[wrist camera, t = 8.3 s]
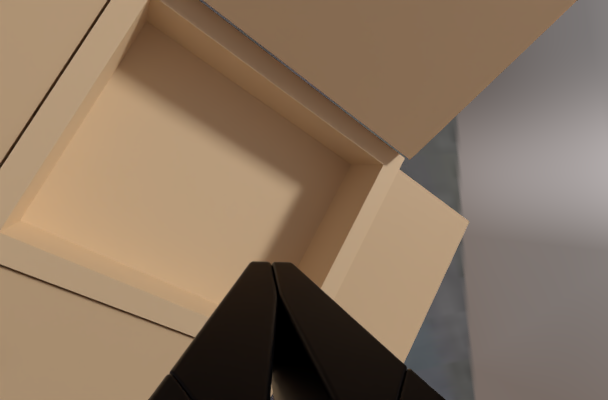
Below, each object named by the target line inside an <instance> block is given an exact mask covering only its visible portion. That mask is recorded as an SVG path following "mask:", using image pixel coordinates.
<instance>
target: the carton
mask: <svg viewBox="0 0 608 400" xmlns="http://www.w3.org/2000/svg"><path fill="white" fill-rule="evenodd" d="M404 159H405V158H404V157H402V156H401V155H400V154H399V153H397V152H396V151H395V150H393V149H392V148H391V147H389V146H388V145H387V144H386V143H384V142H383V141H382V140H380V139H379V138H378V137H376V136H375V135H374V134H373V133H371V132H370V131H369V130H367V129H366V128H365V127H363V126H362V125H361V124H359V123H358V122H357V121H356V120H354V119H353V118H352V117H350V116H349V115H348V114H346V113H345V112H344V111H343V110H341V109H340V108H339V107H337V106H336V105H335V104H333V103H332V102H331V101H329V100H328V99H327V98H326V97H324V96H323V95H322V94H320V93H319V92H318V91H316V90H315V89H314V88H313V87H311V86H310V85H309V84H307V83H306V82H305V81H303V80H302V79H301V78H299V77H298V76H297V75H296V74H294V73H293V72H292V71H290V70H289V69H288V68H286V67H285V66H284V65H283V64H281V63H280V62H279V61H277V60H276V59H275V58H273V57H272V56H271V55H269V54H268V53H267V52H266V51H264V50H263V49H262V48H260V47H259V46H258V45H256V44H255V43H254V42H253V41H251V40H250V39H249V38H247V37H246V36H245V35H243V34H242V33H241V32H239V31H238V30H237V29H236V28H234V27H233V26H232V25H230V24H229V23H228V22H226V21H225V20H224V19H223V18H221V17H220V16H219V15H217V14H216V13H215V12H213V11H212V10H211V9H210V8H208V7H207V6H206V5H204V4H203V3H202V2H200V1H199V0H0V400H148V399H149V398H150V396H151V395H152V394H153V393H154V391H155V390H156V388H157V387H158V386H159V384H160V383H161V382H162V380H163V379H164V378H165V376H166V375H167V374H169V373H170V370H171V369H172V368H173V366H174V365H175V364H176V362H177V361H178V360H179V358H180V357H181V356H182V354H183V353H184V351H185V350H186V349H187V347H188V346H189V345H190V343H191V342H192V341H193V339H194V338H195V336H196V335H197V334H198V332H199V331H200V330H201V328H202V327H203V326H204V324H205V323H206V322H207V320H208V319H209V317H210V316H211V315H212V313H213V312H214V311H215V309H216V308H217V307H218V305H219V304H220V302H221V301H222V300H223V298H224V297H225V296H226V294H227V293H228V292H229V290H230V289H231V288H232V286H233V285H234V283H235V282H236V281H237V279H238V278H239V277H240V275H241V274H242V273H243V271H244V270H245V268H246V267H247V266H248V264H249V263H250V262H252V261H264V262H270V263H271V265H272V263H273V262H291V263H293V264H294V265H295V266H296V267H297V268H298V269H300V270H301V271H302V272H303V273H304V274H305V275H306V276H307V277H308V278H309V279H311V280H312V281H313V282H314V283H315V284H316V285H317V286H318V287H319V288H321V289H322V290H323V291H324V292H325V293H326V294H327V295H328V296H329V297H331V298H332V299H333V300H334V301H335V302H336V303H337V304H338V305H339V306H340V307H342V308H343V309H344V310H345V311H346V312H347V313H348V314H349V315H350V316H352V317H353V318H354V319H355V320H356V321H357V322H358V323H359V324H360V325H362V326H363V327H364V328H365V329H366V330H367V331H368V332H369V333H370V334H371V335H373V336H374V337H375V338H376V339H377V340H378V341H379V342H380V343H381V344H383V345H384V346H385V347H386V348H387V349H388V350H389V351H390V352H391V353H393V354H394V355H395V356H396V357H397V358H398V359H399V360H400V361H401V362H402V363H404V362H405V359H406V357H407V355H408V353H409V351H410V349H411V346H412V344H413V342H414V340H415V338H416V336H417V334H418V331H419V329H420V327H421V325H422V323H423V321H424V318H425V316H426V314H427V312H428V310H429V308H430V306H431V303H432V301H433V299H434V297H435V295H436V293H437V290H438V288H439V286H440V284H441V282H442V280H443V277H444V275H445V273H446V271H447V269H448V267H449V265H450V262H451V260H452V258H453V256H454V254H455V252H456V249H457V247H458V245H459V243H460V241H461V239H462V237H463V234H464V232H465V230H466V227H467V225H468V224H469V221H468V220H466V219H465V218H464V217H462V216H461V215H460V214H458V213H457V212H456V211H454V210H453V209H452V208H450V207H449V206H448V205H446V204H445V203H444V202H442V201H441V200H440V199H438V198H437V197H436V196H434V195H433V194H432V193H430V192H429V191H427V190H426V189H425V188H423V187H422V186H421V185H419V184H418V183H417V182H415V181H414V180H413V179H411V178H410V177H409V176H407V175H406V174H405V173H403V172H402V171H401V170H399V169H400V167H401V165H402V163H403V161H404ZM272 393H273V390H272V384H271V395H272Z"/></svg>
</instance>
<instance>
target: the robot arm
mask: <svg viewBox="0 0 608 400" xmlns="http://www.w3.org/2000/svg"><path fill="white" fill-rule="evenodd" d="M406 370H407V367H406V365H405V364H404V363H402V362H401V361H400V360H399V359H398V358H397V357H396V356H395V355H394V354H393V353H391V352H390V351H389V350H388V349H387V348H386V347H385V346H384V345H383V344H381V343H380V342H379V341H378V340H377V339H376V338H375V337H374V336H373V335H371V334H370V333H369V332H368V331H367V330H366V329H365V328H364V327H363V326H362V325H360V324H359V323H358V322H357V321H356V320H355V319H354V318H353V317H352V316H350V315H349V314H348V313H347V312H346V311H345V310H344V309H343V308H342V307H340V306H339V305H338V304H337V303H336V302H335V301H334V300H333V299H332V298H331V297H329V296H328V295H327V294H326V293H325V292H324V291H323V290H322V289H321V288H319V287H318V286H317V285H316V284H315V283H314V282H313V281H312V280H311V279H309V278H308V277H307V276H306V275H305V274H304V273H303V272H302V271H301V270H300V269H298V268H297V267H296V266H295V265H294V264H293V263H291V262H273V263H272V265H271V263H270V262H264V261H252V262H250V263H249V264H248V266H247V267H246V268H245V270H244V271H243V273H242V274H241V275H240V277H239V278H238V279H237V281H236V282H235V283H234V285H233V286H232V288H231V289H230V290H229V292H228V293H227V294H226V296H225V297H224V298H223V300H222V301H221V302H220V304H219V305H218V307H217V308H216V309H215V311H214V312H213V313H212V315H211V316H210V317H209V319H208V320H207V322H206V323H205V324H204V326H203V327H202V328H201V330H200V331H199V332H198V334H197V335H196V336H195V338H194V339H193V341H192V342H191V343H190V345H189V346H188V347H187V349H186V350H185V351H184V353H183V354H182V356H181V357H180V358H179V360H178V361H177V362H176V364H175V365H174V366H173V368H172V369H171V370H170V373H169V374H167V375H166V376H165V378H164V379H163V380H162V382H161V383H160V384H159V386H158V387H157V388H156V390H155V391H154V393H153V394H152V395H151V396H150V398H149V399H148V400H270V397H271V384H272V390H273V396H274V400H445V399H444V398H443V397H442V396H441V395H440V394H438V393H437V392H436V391H435V390H434V389H433V388H432V387H430V386H429V385H428V384H427V383H426V382H425V381H424V380H422V379H421V378H420V377H419V376H418V375H417V374H416V373H415V372H414V371H412V370H411V369H408V370H407V371H406Z"/></svg>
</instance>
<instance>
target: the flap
mask: <svg viewBox="0 0 608 400" xmlns="http://www.w3.org/2000/svg"><path fill="white" fill-rule="evenodd" d="M203 1H205V2H206V3H207V4H209V5H210V6H211V7H212V8H214V9H215V10H216V11H218V12H219V13H220V14H222V15H223V16H224V17H225V18H227V19H228V20H229V21H231V22H232V23H233V24H235V25H236V26H237V27H238V28H240V29H241V30H242V31H244V32H245V33H246V34H248V35H249V36H250V37H251V38H253V39H254V40H255V41H257V42H258V43H259V44H260V45H262V46H263V47H264V48H266V49H267V50H268V51H270V52H271V53H272V54H273V55H275V56H276V57H277V58H279V59H280V60H281V61H283V62H284V63H285V64H286V65H288V66H289V67H290V68H292V69H293V70H294V71H296V72H297V73H298V74H299V75H301V76H302V77H303V78H305V79H306V80H307V81H308V82H310V83H311V84H312V85H314V86H315V87H316V88H318V89H319V90H320V91H321V92H323V93H324V94H325V95H327V96H328V97H329V98H331V99H332V100H333V101H334V102H336V103H337V104H338V105H340V106H341V107H342V108H344V109H345V110H346V111H347V112H349V113H350V114H351V115H353V116H354V117H355V118H356V119H358V120H359V121H360V122H362V123H363V124H364V125H366V126H367V127H368V128H369V129H371V130H372V131H373V132H375V133H376V134H377V135H379V136H380V137H381V138H382V139H384V140H385V141H386V142H388V143H389V144H390V145H392V146H393V147H394V148H395V149H397V150H398V151H399V152H401V153H402V154H403V155H405V156H406V157H407V158H408V159H411V158H412V157H413V156H414V155H415V154H417V153H418V152H419V151H420V150H421V149H422V148H423V147H424V146H425V145H426V144H427V143H428V142H429V141H430V140H431V139H432V138H433V137H434V136H435V135H436V134H437V133H439V132H440V131H441V130H442V129H443V128H444V127H445V126H446V125H447V124H448V123H449V122H450V121H451V120H452V119H453V118H454V117H455V116H456V115H457V114H458V113H460V112H461V110H463V109H464V108H465V107H466V106H467V105H468V104H469V103H470V102H471V101H472V100H473V99H474V98H475V97H476V96H477V95H478V94H479V93H481V92H482V91H483V90H484V89H485V88H486V87H487V86H488V85H489V84H490V83H491V82H492V81H493V80H494V79H495V78H496V77H497V76H498V75H499V74H500V73H502V72H503V71H504V70H505V68H507V67H508V66H509V65H510V64H511V63H512V62H513V61H514V60H515V59H516V58H517V57H518V56H519V55H520V54H521V53H523V52H524V51H525V50H526V49H527V48H528V47H529V46H530V45H531V44H532V43H533V42H534V41H535V40H536V39H537V38H538V37H539V36H540V35H541V34H542V33H544V32H545V31H546V30H547V29H548V28H549V27H550V26H551V25H552V24H553V23H554V22H555V21H556V20H557V19H558V18H559V17H560V16H561V15H562V14H563V13H564V12H565V11H567V10H568V9H569V7H571V6H572V5H573V4H574V3H575V2H576V1H577V0H203Z"/></svg>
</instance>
